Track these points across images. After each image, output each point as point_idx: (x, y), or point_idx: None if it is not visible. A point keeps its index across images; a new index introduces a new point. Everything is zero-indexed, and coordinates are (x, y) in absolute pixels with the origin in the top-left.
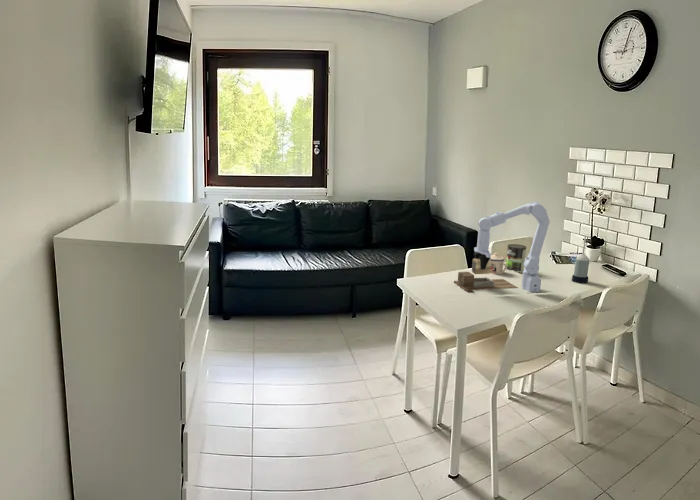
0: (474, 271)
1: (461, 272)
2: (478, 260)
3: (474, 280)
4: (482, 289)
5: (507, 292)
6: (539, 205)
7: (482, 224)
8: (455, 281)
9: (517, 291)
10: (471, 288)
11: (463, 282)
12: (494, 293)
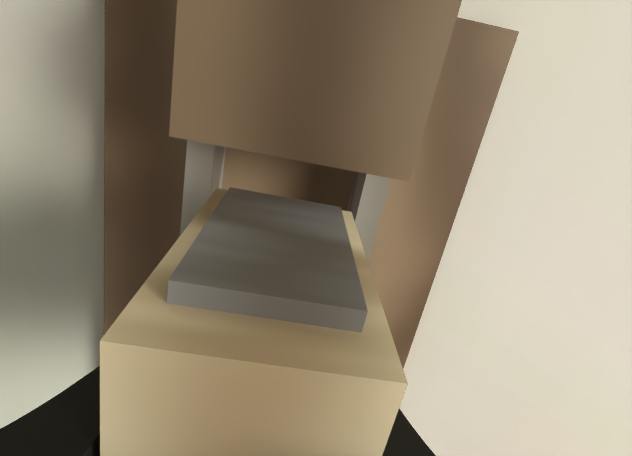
0: (226, 192)
1: (417, 15)
2: (123, 418)
3: None
4: (105, 158)
5: (53, 352)
6: None
7: None
8: (488, 35)
9: None
10: (162, 49)
11: None
12: (32, 230)
